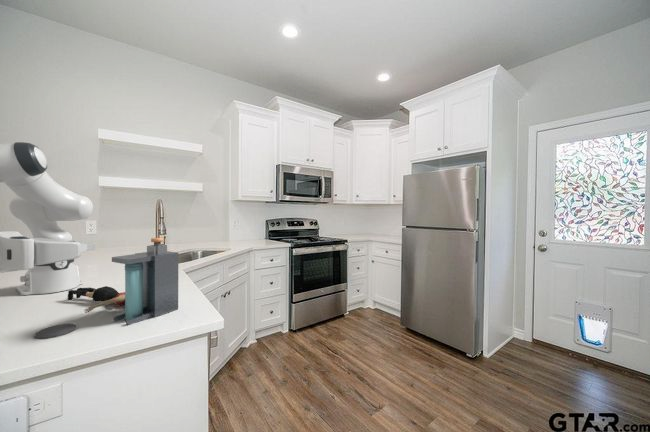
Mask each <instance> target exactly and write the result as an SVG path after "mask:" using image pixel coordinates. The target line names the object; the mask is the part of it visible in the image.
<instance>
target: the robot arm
mask: <svg viewBox="0 0 650 432" xmlns="http://www.w3.org/2000/svg"><path fill="white" fill-rule="evenodd" d="M47 169H48V161H47V156H46V155H45V153H44V152H43V151H42V149H40V148H39V147H38V146H37V145H35V144H32V143H30V142H24V141H23V142H22V141H20V142H18V141H17V142H14V143H0V184H2V183H4V184H5V185H6V186H7V187H8V188H9V189H10V190H11V191H12V192H13V193H14V194H15V195H16V196H14V197H13V198H12V199H11V201H10V203H9V206H8V207H9V211H10V214H12V216H13V217H14V218H16V219H18V220H19V221H21V222H22V223H24V225H25V226H26V227H27V228H28V230H29V231H30V233H31V235H32V238H30V237H29V236H27V235H23V234H22V233H20V231H18V230H17V231H16V230H10V231H9V230H8V231H6V230H4V231H0V274H3V273H9V272H11V273H12V272H16V271H26V270H27V272H26V273H25V274H24V275H21V276H20V277H19V279H20V282H21V283H24V284H20V285H17V286H16V287H15V288H16V290H17V291H18V293H19V295H20V296H28V295H44V294H52V293H58V292H59V293H60V292H64V291H69V290H73V289H75V288H78V287H79V286H80V285H82V284H84V281H83V280H80V273H79V266H78V265H77V264H75V263H74V262H75V259H78V258H80V257H81V256H82V253H85V252H90V251H95V249H96V243H95V242H87V243H86V242H85V243H81V242H79V241H75V240H73V236H72V234H71V233H70V232H69V231H66V230H64V229H62V228H61V227H60V226H59V225H58V222H75V221H81V220H87V219H88V218H89V217H90V216H91V215H92V214H93V211H94V205H93V204H94V203H93V202H92V200H91V199H90V198H89V197H87V196H84V195H81V194H79V193H76V192H73V191H71V190H70V189H68V188H66V187H64V186H63V185H61V184H59V183H57V181H55V180H54V179H53V178H52V177H51V176H50V174H49V173H48V172H46V170H47Z"/></svg>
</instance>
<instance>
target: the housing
mask: <svg viewBox="0 0 650 432" xmlns="http://www.w3.org/2000/svg"><path fill="white" fill-rule="evenodd" d="M111 262H112V263H115V264H116V263H117V264H123V265H125V264H134V263H140V262H142V263H143V315H140V316H137V317H134V318H131V319H128V320H125V322H126V326H131V325H133V324H135V323H138V322H139V323H140V322H142V321H144V320H147V319H148V320H149V319H150V318H155V319H156V318H158V317H160V316H163V315H165V314H169V313H171V312H174V311H177V310H179V252H177V251H168V245H167V244H161V243H160V246H154V244H151V245H146V251H143V252H137V253H136V252H135V253H133V254H126V255H120V256H119V255H118V256H112V257H111ZM112 317H113V318H112V319H113V320H112V321H113V322H117V321H119V320H123V319H125V312H122V313H118V314H115V315H113V316H112Z"/></svg>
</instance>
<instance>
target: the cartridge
mask: <svg viewBox="0 0 650 432" xmlns="http://www.w3.org/2000/svg"><path fill="white" fill-rule="evenodd" d="M124 274H125V275H124V278H125V279H124V280H125V281H124V282H125V283H124V287H125V288H124V289H125V290H124V292H125V304H124V306H125V308H124V311H125V312H124V313H125V318H124V320H125V321H126V320H128V319H131V318H134V317H137V316H140V315H143V263H142V262H140V263H134V264H124Z"/></svg>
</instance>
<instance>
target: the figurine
mask: <svg viewBox="0 0 650 432" xmlns="http://www.w3.org/2000/svg"><path fill="white" fill-rule="evenodd" d="M67 293H68V294H67V301H69V300H70V301H72V300H74V295H75V296H76V299H80V298H81V297H87V298H90V299H92V301H93V302H98V303H96V304H95V305H89V306H87V307H86V308H85V309H84V310H83V311H84V313H85V314H87V313H90V312H92V311H93V310H95V309H96V308H99V307H102V306H103V307H104V306H107V305H110V304H114V305H115V306H117V307H120V306H123V305H125V291H123V292H118V290H116V289H115V288H113V287H111V286H108V285H107V286H102V287H99V288H94V287H77V289H69V290H67Z"/></svg>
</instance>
